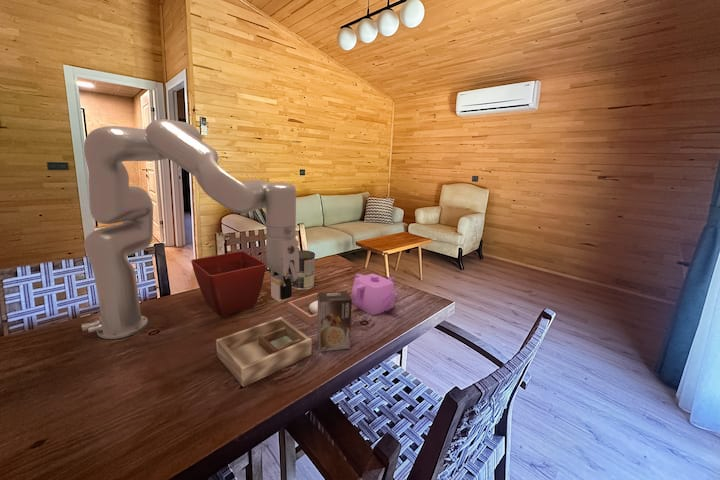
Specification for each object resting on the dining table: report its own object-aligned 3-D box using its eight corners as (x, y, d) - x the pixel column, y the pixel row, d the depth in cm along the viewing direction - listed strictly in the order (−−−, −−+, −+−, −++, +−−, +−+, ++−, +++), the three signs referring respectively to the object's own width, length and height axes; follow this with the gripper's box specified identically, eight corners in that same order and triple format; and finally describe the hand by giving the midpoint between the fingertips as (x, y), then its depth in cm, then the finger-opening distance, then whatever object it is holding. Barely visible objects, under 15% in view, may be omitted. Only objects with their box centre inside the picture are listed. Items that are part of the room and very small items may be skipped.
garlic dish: (310, 325, 106) (310, 317, 105) (287, 309, 115) (287, 302, 114) (340, 313, 115) (341, 305, 114) (317, 299, 124) (318, 292, 124)
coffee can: (291, 290, 131) (291, 258, 127) (288, 281, 140) (289, 250, 136) (316, 289, 134) (317, 257, 130) (312, 279, 143) (313, 249, 140)
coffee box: (345, 337, 100) (348, 290, 96) (350, 349, 94) (353, 299, 90) (316, 340, 98) (317, 292, 94) (319, 352, 92) (320, 301, 88)
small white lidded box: (278, 301, 86) (278, 281, 84) (270, 296, 88) (270, 276, 87) (291, 297, 89) (291, 277, 87) (283, 292, 91) (283, 273, 90)
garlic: (325, 305, 121) (325, 295, 120) (334, 312, 116) (335, 303, 115) (306, 310, 116) (306, 300, 115) (315, 318, 111) (315, 308, 110)
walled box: (243, 387, 77) (242, 369, 76) (217, 355, 88) (216, 339, 86) (311, 354, 91) (311, 339, 89) (281, 331, 101) (281, 316, 100)
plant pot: (193, 303, 116) (190, 259, 111) (244, 290, 129) (243, 250, 124) (213, 324, 103) (210, 276, 98) (267, 308, 115) (267, 264, 111)
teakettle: (352, 294, 131) (353, 266, 128) (393, 297, 131) (396, 269, 128) (348, 314, 115) (350, 282, 112) (395, 318, 114) (399, 286, 111)
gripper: (311, 236, 80) (310, 302, 85) (277, 223, 92) (277, 282, 97) (285, 240, 75) (286, 310, 80) (252, 226, 87) (254, 288, 91)
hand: (281, 294), depth 88 cm, fingers closed on small white lidded box, 4 cm apart
